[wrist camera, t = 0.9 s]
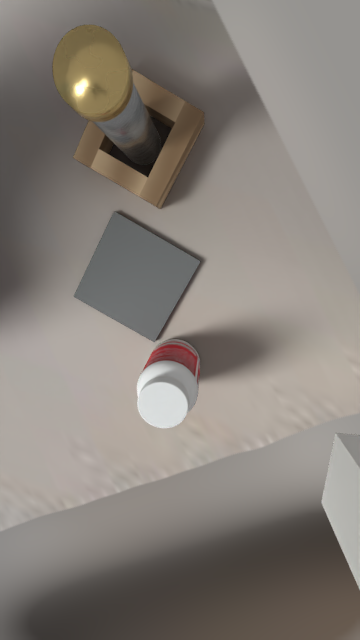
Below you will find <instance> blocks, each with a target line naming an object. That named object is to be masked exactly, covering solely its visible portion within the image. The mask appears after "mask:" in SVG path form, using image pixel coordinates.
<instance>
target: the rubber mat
mask: <svg viewBox="0 0 360 640" xmlns="http://www.w3.org/2000/svg"><path fill="white" fill-rule="evenodd" d="M199 263H200V260H198V259H196V258H195V257H193V256H191V255H189V254H188V253H186V252H184V251H182V250H181V249H179V248H177V247H176V246H174V245H172V244H170V243H169V242H167V241H165V240H164V239H162V238H160V237H158V236H157V235H155V234H153V233H151V232H150V231H148V230H146V229H145V228H143V227H141V226H139V225H138V224H136V223H134V222H132V221H131V220H129V219H127V218H126V217H124V216H122V215H120V214H119V213H117V212H115V211H114V213H113V215H112V217H111V219H110V221H109V223H108V225H107V227H106V230H105V232H104V234H103V236H102V238H101V240H100V242H99V244H98V246H97V248H96V251H95V253H94V255H93V257H92V259H91V261H90V263H89V265H88V267H87V269H86V272H85V274H84V276H83V278H82V280H81V282H80V284H79V286H78V288H77V290H76V293H75V295H74V297H75V298H77V299H79V300H81V301H82V302H84V303H86V304H88V305H89V306H91V307H93V308H95V309H96V310H98V311H100V312H102V313H104V314H105V315H107V316H109V317H111V318H112V319H114V320H116V321H118V322H119V323H121V324H123V325H125V326H126V327H128V328H130V329H132V330H134V331H135V332H137V333H139V334H141V335H142V336H144V337H146V338H148V339H149V340H151V341H153V342H155V340H156V338H157V337H158V335H159V333H160V331H161V330H162V328H163V326H164V324H165V323H166V321H167V319H168V317H169V316H170V314H171V312H172V310H173V309H174V307H175V305H176V303H177V302H178V300H179V298H180V296H181V295H182V293H183V291H184V289H185V288H186V286H187V284H188V282H189V281H190V279H191V277H192V275H193V274H194V272H195V270H196V268H197V267H198V265H199Z"/></svg>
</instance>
